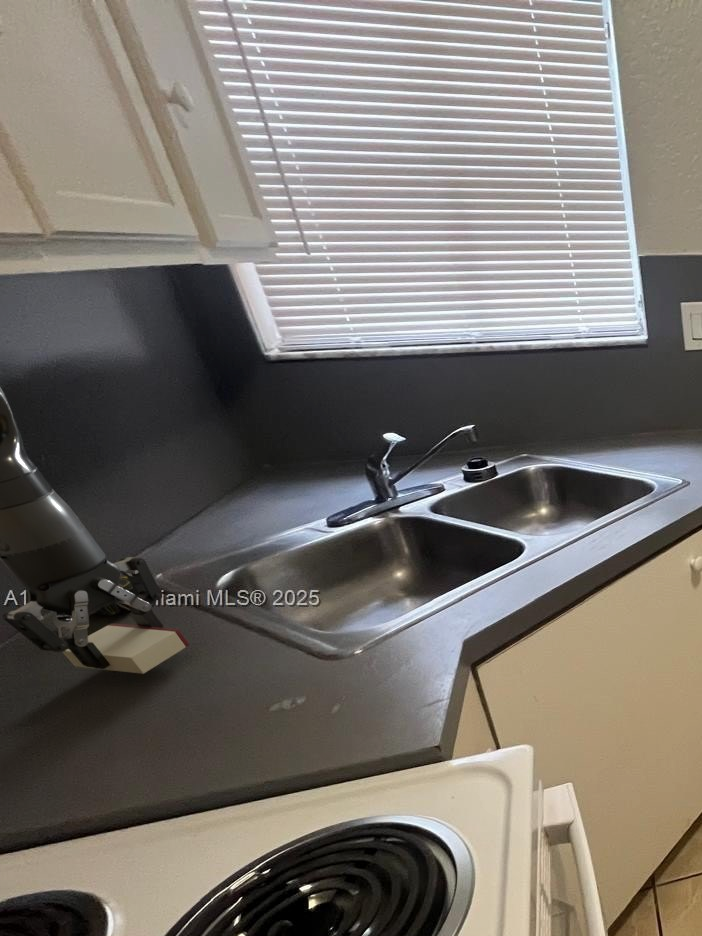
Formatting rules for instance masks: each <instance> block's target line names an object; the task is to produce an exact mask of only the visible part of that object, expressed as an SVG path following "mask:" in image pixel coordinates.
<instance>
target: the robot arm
mask: <svg viewBox="0 0 702 936" xmlns="http://www.w3.org/2000/svg"><path fill="white" fill-rule="evenodd" d="M12 410H13V409H12V407H11V404H10V401H8V398H7V396H6V394H5V392H4V390H3V389H2V387H1V386H0V561H1V562H2V563H3V565H4V566H5V567H6V568H7V569H8V571H9V572H10V573H11V574H12V575H13V576H14V578H15V579H16V580H17V581H18V582H19V583H20V585H22V587H24V589H26V590H27V593H28V595H29V598H28V599H29V602H27V603H25V604H24V605H21V607H18V608H17V609H15V610H6V611H5V612H3V613H2V619H3V620H4V621H6V623H8V624H9V625H10V626H12V627H13V628H14V629H15V630H16V631H17V632H19V633H20V634H21V635H23V636H24V637H25V638H26V639H27V640H29V641H30V642H31V643H32V644H33V645H35V646H36V647H37V648H39V649H40V650H41V651H48V652H49V651H51V652H57V653H63V651H65V650H67V649H69V650H70V651H71V652H72V653H73V654H74V655H75V656H76V658H78V660H79V661H80V662H81V663H82V665H84V666H86V667H92V668H91V669H95V668H98V669H97V670H104V669H105V668H106V667H108V666H110V664H109V662H108V661H107V660H106V659H105V657H104V656H103V654H102V653H101V652H100V651H99V650H98V648H97V647H96V646H95V645H94V643H93V642H88V636H89V635H88V628H89V626H90V618H89V617H90V616H91V615H93V614H96V613H95V612H96V611H97V610H99V609H100V608H101V607H104V606H108V605H111V604H113V603H115V604H117V605H119V606H121V607H123V608H125V609H124V610H127V611H130V613H129V615H130V617H131V619H132V620H133V621H134V622H135V624H136V626H147V627H158V628H164V625H163V623H162V622H161V620H160V619H159V617H158V616H157V614H155V612H154V611H153V609H152V607H153V605H154V604H155V602H156V601H160V600H161V599H162V598H163V593H162V591H161V589H160V587H159V586H158V583H157V581H156V579H155V577H154V575H153V572H152V571H151V569H150V568H149V565H148V563H147V561H146V559H144V558H143V557H135V556H133V557H132V556H122V557H121V558H120V559H119V561H117V562H111V561H110V560H108V559H107V555H106V554H105V552H104V551H103V549H102V548H101V546H100V545H98V542H97V541H96V540H95V539H94V537H93V536H92V535H91V533H90V532H89V530H88V529H87V528H86V527H85V525H84V524H83V523H82V521H81V519H80V517H79V516H78V515H77V514H76V513H75V512H74V510H73V509H72V508H71V506H70V505H68V503H67V502H66V501H65V500H64V499H63V498H62V497H61V496H60V495H59V494H58V493H57V492H56V491H55V490H54V489H53V487H52V486H51V484H50V483H49V481H48V480H47V479H46V477H45V476H44V475H43V474H42V472H41V471H40V470H39V468H38V467H37V465H36V464H35V463H34V462H33V461H32V460H31V458H30V457H29V455H28V453H27V451H26V448H25V447H26V446H25V443H24V440H23V437H22V435H21V431H20V428H19V426H18V423H17V420H16V418H15V416H14V413H13V411H12ZM121 575H122V576H123V577H128V579H129V581H130V583H131V585H132V587H133V589H134V591H135V593H136V595H137V596H136V595H134V594H132V593H130V592H128V591H127V590H125V589H123V588H121V587H119V579H120V577H121ZM42 609H43V610H46V611H50V612H52V615H53V617H52V618H53V624H54V626H55V627H56V628H57V631H58V634H57V633H56V632H54V631H53V630H52V629H51V628H50V627H48V626H47V625H46V624H45V623H44V622H43V621H44V619H45V618H44V616H43V614H42V613H41V612H42Z"/></svg>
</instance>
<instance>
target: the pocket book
mask: <svg viewBox="0 0 702 936" xmlns="http://www.w3.org/2000/svg"><path fill="white" fill-rule="evenodd" d="M88 642H93V643H94V645H95V646H96V647H97V648H98V650H99V651H100V652H101V653H102V654H103V656H104V657H105V659H106V660H107V661H108V662H109V664H110V666H108V667H106V668H105V669H103V670H104V671H105V670H106V671H115V672H123V673H133V674H142V675H144V674H145V673H148V671H151V670H152V669H153V668H155V667H157V666H158V665H160V664H161V663H163V662H164V661H165V662H166V661H167V660H168V659H170V658H172V657H173V656H175V655H176V654H178V653H180V652H181V651H182V650H184V649H185V648H187V647H189V646H190V643H189V641H188V640H187V639H186V637H185V636H184V635H183V633H182V632H181V631H180V629H179V628H167V627H163V628H158V627H147V626H138V625H137V624H136V625H135V624H124V623H110V624H108V625H105V626H104V627H102V628H101V629H99V630H97V631H95V632H92V633H91V634H89V635H88ZM62 653H63V655H64V656H65V657H66V658H67V659H68V660H69V661H70V663H71V664H72V665H73V666H74V667H77V668H86V669H93V668H92V667H86V666H84V665H82V663H81V662H80V661H79V660H78V658H76V656H75V655H74V654H73V653H72V652H71V651H70V650H69V649H67V650H65V651H63V652H62ZM94 669H95V670H96V669H97V670H99V669H98V668H94Z"/></svg>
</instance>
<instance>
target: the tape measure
mask: <svg viewBox="0 0 702 936" xmlns="http://www.w3.org/2000/svg"><path fill="white" fill-rule="evenodd" d="M119 587H121V588H123V589H125V590H127V591H128V592H130V593H132V594H134V595H136V593H135V591H134V589H133V587H132V585H131V583H130V581H129V579H128V577H127V576H120V579H119ZM136 596H137V595H136ZM124 610H126V609H125V608H123V607H121V606H119V605H117V604H115V603H113V604H111V605H108V606H104V607H101V608H100V609H99V610H97V611H96V612H95V613H94V614H99V615H103V616H106V617H114V616H115V615H117V614H119V613H120V612H121V611H124Z"/></svg>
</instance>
